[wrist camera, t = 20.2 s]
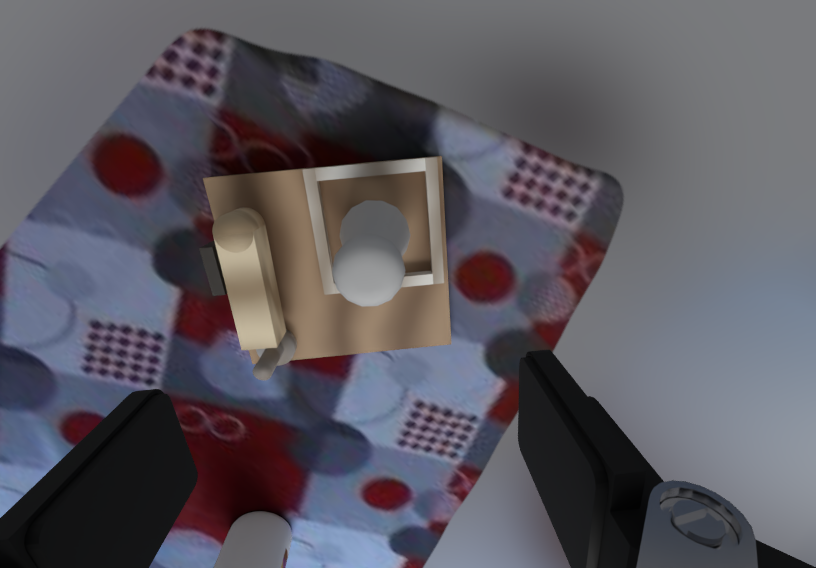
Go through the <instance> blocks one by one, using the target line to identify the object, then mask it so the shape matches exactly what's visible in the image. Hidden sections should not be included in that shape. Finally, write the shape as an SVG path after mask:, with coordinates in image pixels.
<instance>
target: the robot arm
mask: <svg viewBox="0 0 816 568" xmlns="http://www.w3.org/2000/svg"><path fill="white" fill-rule="evenodd" d="M518 441H519V447H520V450H521V453H522V455H523V458H524V460H525V462H526V465H527V467H528V469H529V471H530V474H531V476H532V478H533V481H534V483H535V485H536V487H537V490H538V492H539V494H540V497H541V499H542V502H543V504H544V506H545V508H546V511H547V513H548V515H549V518H550V520H551V522H552V525H553V527H554V529H555V531H556V534H557V536H558V539H559V541H560V543H561V545H562V548H563V550H564V552H565V554H566V557H567V559H568V561H569V564H570V566H571V568H816V567H814V566H812V565H809V564H807V563H805V562H803V561H801V560H798V559H796V558H794V557H792V556H790V555H788V554H786V553H783V552H781V551H779V550H777V549H775V548H772V547H770V546H768V545H766V544H764V543H762V542H760V541H757V540H756V539H755V536H754V533H753V529H752V527H751V525H750V524H749V522H748V521H747V519H746V518H745V517H744V515H743V514H742V513H741V512H740V511H739V510H738V509H737V508H736V507H735V506H734V505H733V504H732V503H730V502H729V501H727V500H726V499H725V498H723V497H722V496H720V495H718V494H717V493H715V492H713V491H711V490H709V489H707V488H705V487H702V486H700V485H696V484H692V483H689V482H686V481H673V480H672V481H667V482H664V481H663V480H662V479H661V478H660V476H659V475H658V474H657V473H656V471H655V470H654V469H653V468H652V467H651V465H650V464H649V463H648V462H647V461H646V459H645V458H644V457H643V456H642V454H641V453H640V452H639V451H638V449H637V448H636V447H635V446H634V445H633V443H632V442H631V441H630V440H629V439H628V437H627V436H626V435H625V434H624V432H623V431H622V430H621V429H620V428H619V427H618V425H617V424H616V423H615V421H614V420H613V419H612V418H611V417H610V415H609V414H608V413H607V412H606V411H605V409H604V408H603V407H602V406H601V404H599V402H598V401H597V400H596V399H595V398H593V397H590V396H589V397H587V396H586V394H585V393H584V392H583V390H582V389H581V388H580V387H579V385H578V384H577V383H576V382H575V380H574V379H573V378H572V377H571V375H570V374H569V373H568V372H567V370H566V369H565V368H564V367H563V365H562V364H561V363H560V362H559V360H558V359H557V358H556V356H555V355H554V354H553V353H552V352H551V351H550V350H540V351H530V352H527V354H526V357H525V358H521V359H520V368H519V418H518ZM197 477H198V476H197V469H196V466H195V464H194V461H193V458H192V456H191V453H190V450H189V448H188V445H187V442H186V439H185V437H184V434H183V431H182V429H181V426H180V423H179V421H178V418H177V415H176V412H175V410H174V407H173V404H172V402H171V399H170V397H169V396H168V395H167V394H164V393H163V392H162V391H161V390H159V389H153V390H143V391H135V392H132V393H131V394H130V395H129V396H128V397H126V398H125V399H124V400H123V401H122V402H121V403H120V404H119V405H118V406H117V407H116V408H115V409H114V410H113V411H112V412H111V413H110V414H109V415H108V416H107V417H106V418H105V419H103V420H102V421H101V422H100V423H99V424H98V425H97V426H96V427H95V428H94V429H93V430H92V431H91V432H90V433H89V434H88V435H87V436H86V437H85V438H84V439H83V440H82V441H81V442H79V443H78V444H77V445H76V446H75V447H74V448H73V449H72V450H71V451H70V452H69V453H68V454H67V455H66V456H65V457H64V458H63V459H62V460H61V461H60V462H59V463H58V464H56V465H55V466H54V467H53V468H52V469H51V470H50V471H49V472H48V473H47V474H46V475H45V476H44V477H43V478H42V479H41V480H40V481H39V482H38V483H37V484H36V485H35V486H34V487H32V488H31V489H30V490H29V491H28V492H27V493H26V494H25V495H24V496H23V497H22V498H21V499H20V500H19V501H18V502H17V503H16V504H15V505H14V506H13V507H12V508H11V509H9V510H8V511H7V512H6V513H5V514H4V515H3V516H2V517H1V518H0V568H149V566H150V564H151V563H152V561H153V559H154V557H155V556H156V554H157V552H158V550H159V549H160V547H161V545H162V543H163V542H164V540H165V538H166V536H167V535H168V533H169V531H170V529H171V528H172V526H173V524H174V522H175V521H176V519H177V517H178V515H179V514H180V512H181V510H182V508H183V507H184V505H185V503H186V501H187V500H188V498H189V496H190V494H191V493H192V491H193V489H194V487H195V485H196V482H197Z"/></svg>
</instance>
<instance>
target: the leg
mask: <svg viewBox="0 0 816 568" xmlns="http://www.w3.org/2000/svg"><path fill="white" fill-rule="evenodd" d="M213 237H214V241H215V245H216V249H217V253H218V257H219V261H220V265H221V269H222V273H223V277H224V281H225V285H226V289H227V293H228V297H229V301H230V305H231V309H232V313H233V317H234V321H235V325H236V329H237V333H238V337H239V341H240V345H241V349H242V350H253V349H265V348H277V347H278V345H279V344H280V342H281V340H282V338H283V336H284V335H285V333H286V327H285V322H284V317H283V312H282V307H281V302H280V297H279V292H278V287H277V282H276V277H275V272H274V266H273V261H272V256H271V251H270V246H269V241H268V236H267V231H266V226H265V222H264V219H263V218H262V216H261V215H260V214H259V213H258V212H257V211H255V210H253V209H251V208H239V209H236V210H234V211H231V212H229V213H226V214H224V215H222V216H220V217H219V218H217V219H216V221H215V222H214V225H213Z"/></svg>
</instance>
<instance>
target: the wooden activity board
mask: <svg viewBox="0 0 816 568" xmlns="http://www.w3.org/2000/svg"><path fill="white" fill-rule="evenodd" d="M203 181H204V184H205V188H206V192H207V196H208V199H209V203H210V207H211V211H212V214H213V218H214V222H215V221H216V219H217V218H219V217H220V216H222V215H224V214H226V213H229V212H231V211H234V210H236V209H239V208H251V209H253V210H255V211H257V212H258V213H259V214H260V215H261V216H262V218H263V219H264V222H265V226H266V231H267V236H268V241H269V246H270V251H271V256H272V261H273V266H274V272H275V277H276V282H277V287H278V292H279V297H280V302H281V307H282V312H283V317H284V322H285V327H286V333H285V335H284V336H283V338H282V340H281V342H280V344H279V345H278V347H277V348H265V349H253V350H249V353H250V356H251V360H252V364H256V365H255V367H254V369H253V375H254V376H255V377H256V378H257V379H259V380H267V379H269V378H270V377H271V375H272V373H273V372H274V370H275V368H276V366H277V365H283V364H286V363H288V362H289V361H290V360H298V359H308V358H318V357H328V356H338V355H348V354H358V353H368V352H378V351H388V350H398V349H408V348H418V347H428V346H438V345H448V344H451V328H450V309H449V290H448V270H447V251H446V231H445V212H444V192H443V173H442V156H432V157H421V158H410V159H400V160H389V161H378V162H367V163H356V164H345V165H334V166H324V167H313V168H302V169H291V170H280V171H269V172H258V173H248V174H237V175H226V176H215V177H207V178H203ZM366 200H372V201H384V202H386V203H388V204H391V205H393V206H395V207H397V208H398V209H399V211H400V212H401V213H402V215H403V216H404V217H405V218H406V220H407V223H408V227H409V231H410V235H411V236H410V239H409V243H408V247H407V250H406V252H405V253H404V255H403V256H402V258H403V262H404V266H405V270H406V271H405V275H404V279H403V283H402V286H401V288H400V290H399V291H398V292H397V293H396V294H395V296H394V297H393V298H392V299H391V300H390V301H387V302H385V303H383V304H381V305H379V306H363V307H362V306H359V305H357V304H355V303H352V302H350V301H348V300H347V299H346V298H345V297H344V296H343V295H342V294H341V293H340V292H339V291H338V290H337V288H336V285H335V281H334V278H333V274H332V269H333V263H334V257H335V255H336V253H337V252H338V251H339V250H340V248H341V247H342V243H341V240H340V230H341V224H342V220H343V218H344V217H345V216H346V215H347V213H348V212H349V211H350V209H351V208H352V207H354V206H356V205H358V204H360V203H362V202H364V201H366ZM199 249H200V253H201V256H202V260H203V263H204V267H205V270H206V274H207V277H208V280H209V284H210V287H211V291H212V294H213V296H216V295H225V294H226V293H227V289H226V285H225V281H224V277H223V273H222V269H221V265H220V261H219V257H218V253H217V249H216V245H215V241H212V242H210V243H208V244H206V245H205V246H203V247H201V248H199Z"/></svg>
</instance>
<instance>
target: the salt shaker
mask: <svg viewBox="0 0 816 568" xmlns="http://www.w3.org/2000/svg"><path fill="white" fill-rule="evenodd" d="M410 236H411V235H410V231H409V227H408V223H407V220H406V218H405V217H404V216H403V215H402V213H401V212H400V211H399V209H398V208H397V207H395V206H393V205H391V204H388V203H386V202H384V201H372V200H366V201H364V202H362V203H360V204H358V205H356V206H354V207H352V208H351V209H350V211H349V212H348V213H347V215H346V216H345V217H344V218H343V220H342V224H341V230H340V240H341V243H342V247H341V248H340V250H339V251H338V252H337V253H336V255H335V257H334V263H333V269H332V274H333V278H334V281H335V285H336V288H337V290H338V291H339V292H340V293H341V294H342V295H343V296H344V297H345V298H346V299H347V300H348V301H350V302H352V303H355V304H357V305H359V306H362V307H363V306H379V305H381V304H383V303H385V302H387V301H390V300H391V299H392V298H393V297H394V296H395V294H396V293H397V292H398V291H399V290H400V288H401V286H402V283H403V279H404V275H405V271H406V270H405V266H404V262H403V258H402V256H403V255H404V253H405V252H406V250H407V247H408V243H409V239H410Z"/></svg>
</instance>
